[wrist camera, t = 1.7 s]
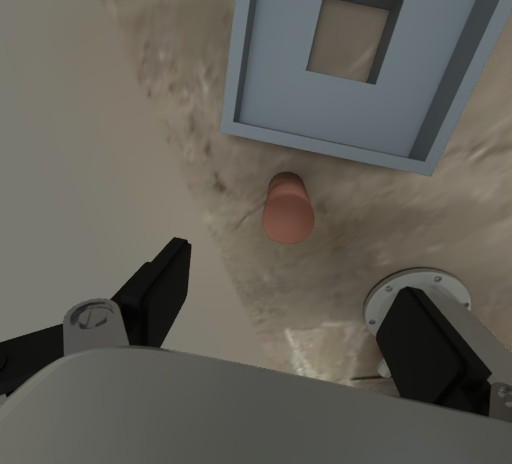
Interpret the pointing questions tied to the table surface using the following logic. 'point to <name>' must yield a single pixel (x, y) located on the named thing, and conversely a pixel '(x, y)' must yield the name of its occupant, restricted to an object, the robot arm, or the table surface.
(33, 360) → the robot arm
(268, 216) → the peg
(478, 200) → the table surface
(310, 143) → the tray
